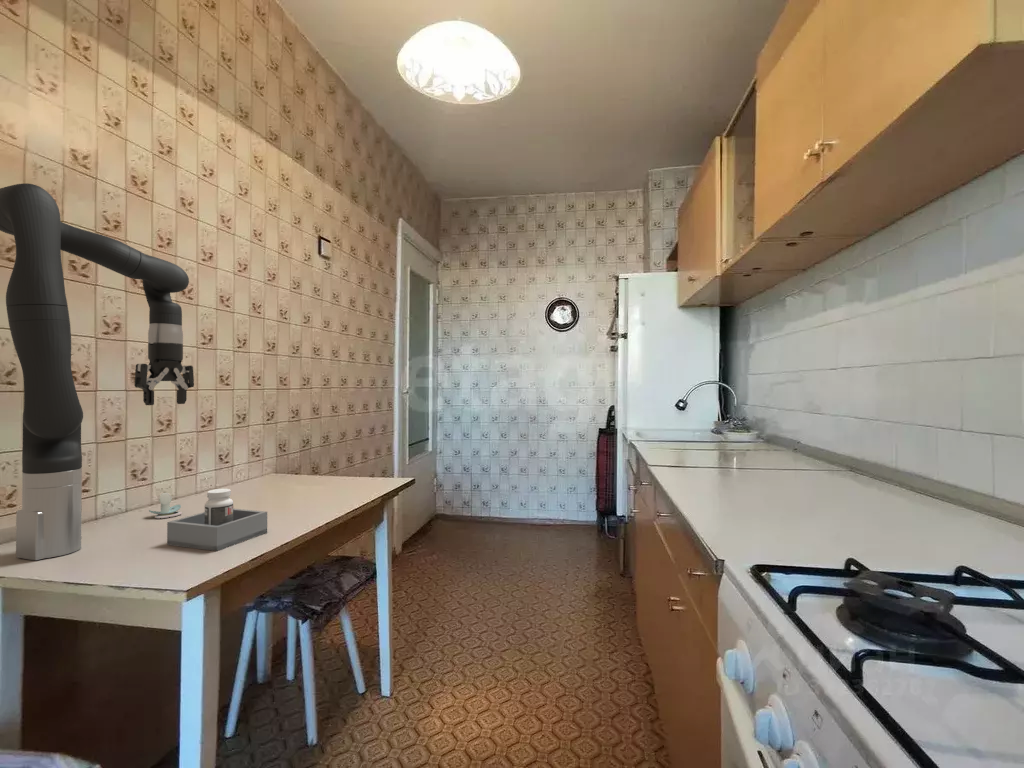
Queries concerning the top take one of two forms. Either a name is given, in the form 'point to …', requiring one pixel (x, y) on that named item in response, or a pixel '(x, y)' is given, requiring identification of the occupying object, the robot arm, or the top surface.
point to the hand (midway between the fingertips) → (165, 404)
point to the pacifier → (166, 507)
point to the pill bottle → (218, 507)
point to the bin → (216, 530)
